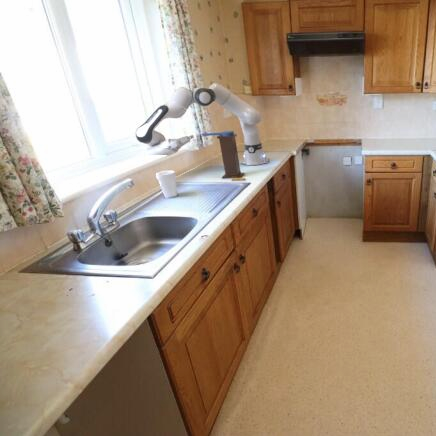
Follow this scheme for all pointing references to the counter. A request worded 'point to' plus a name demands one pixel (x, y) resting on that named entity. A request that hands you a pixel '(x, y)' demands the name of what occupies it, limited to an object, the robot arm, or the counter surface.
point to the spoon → (226, 133)
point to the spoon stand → (230, 156)
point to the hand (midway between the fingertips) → (190, 137)
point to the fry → (237, 179)
